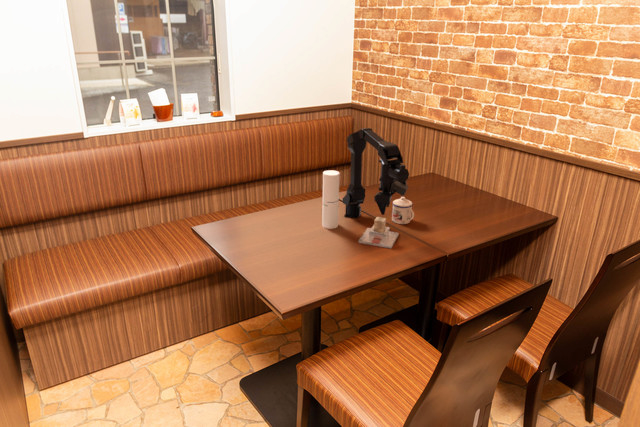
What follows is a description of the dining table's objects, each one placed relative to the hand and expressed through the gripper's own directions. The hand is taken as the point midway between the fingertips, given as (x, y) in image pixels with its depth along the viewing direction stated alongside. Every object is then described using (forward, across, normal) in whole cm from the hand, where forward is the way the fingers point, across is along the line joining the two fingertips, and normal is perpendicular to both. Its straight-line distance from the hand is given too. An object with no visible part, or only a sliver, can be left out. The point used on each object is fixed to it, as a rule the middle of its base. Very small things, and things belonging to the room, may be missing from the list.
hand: (385, 210), depth 195 cm
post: (+11, -2, +1) cm, 12 cm away
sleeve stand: (+12, -2, +2) cm, 13 cm away
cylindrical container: (+12, +4, +25) cm, 28 cm away
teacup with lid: (+12, +20, -5) cm, 24 cm away
